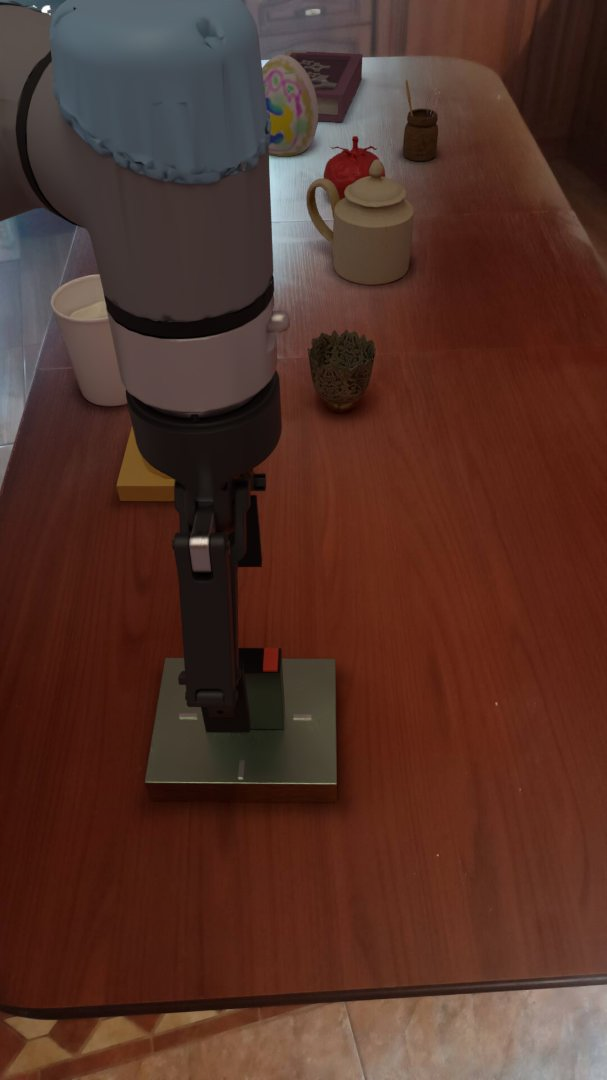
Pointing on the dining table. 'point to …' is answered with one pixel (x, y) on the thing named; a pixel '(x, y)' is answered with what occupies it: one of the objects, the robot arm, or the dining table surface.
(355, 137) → the red tomato
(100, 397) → the white paper cup
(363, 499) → the dining table surface
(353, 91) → the book
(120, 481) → the button block
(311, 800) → the control panel
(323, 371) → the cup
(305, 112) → the decorative egg
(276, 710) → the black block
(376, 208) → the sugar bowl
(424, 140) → the utensil holder
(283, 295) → the dining table surface
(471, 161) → the dining table surface
